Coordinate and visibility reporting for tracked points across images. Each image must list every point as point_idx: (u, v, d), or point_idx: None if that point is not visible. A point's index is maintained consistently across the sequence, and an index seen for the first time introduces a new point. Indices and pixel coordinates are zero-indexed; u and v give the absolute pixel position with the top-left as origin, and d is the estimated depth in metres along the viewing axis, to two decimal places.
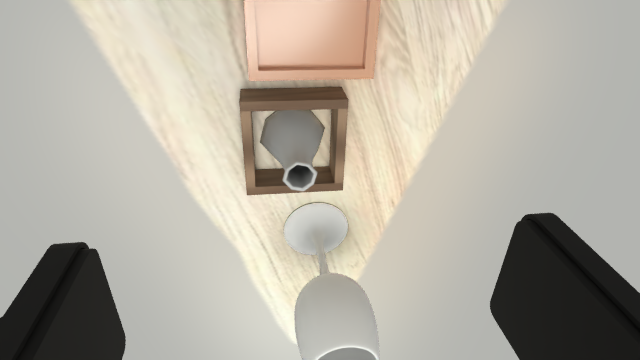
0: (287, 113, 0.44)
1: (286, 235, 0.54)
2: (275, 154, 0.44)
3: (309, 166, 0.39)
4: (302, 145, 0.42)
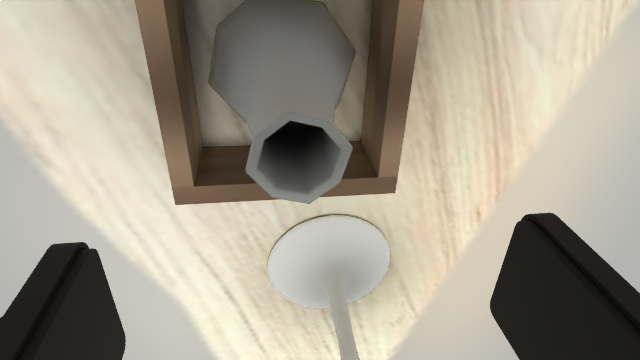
0: (267, 3, 0.18)
1: (271, 276, 0.28)
2: (236, 104, 0.17)
3: (329, 126, 0.12)
4: (307, 75, 0.15)
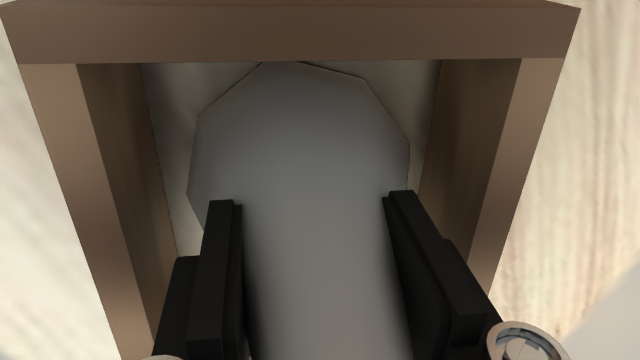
0: (279, 90, 0.11)
1: None
2: None
3: None
4: (356, 247, 0.08)
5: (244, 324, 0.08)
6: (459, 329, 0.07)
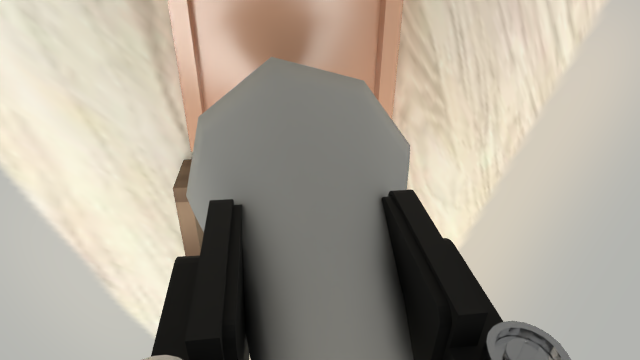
0: (279, 92, 0.11)
1: None
2: None
3: None
4: (356, 250, 0.08)
5: (244, 324, 0.08)
6: (459, 329, 0.07)
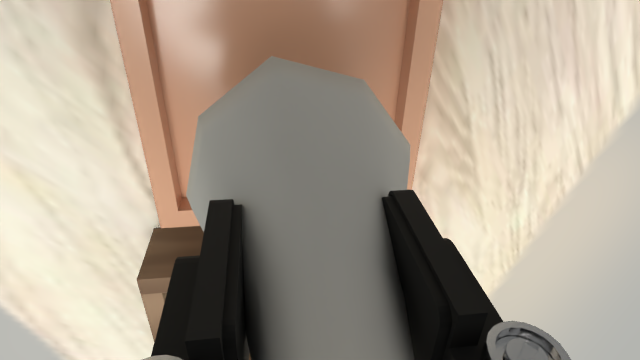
0: (278, 91, 0.11)
1: None
2: None
3: None
4: (357, 249, 0.08)
5: (244, 324, 0.08)
6: (459, 329, 0.07)
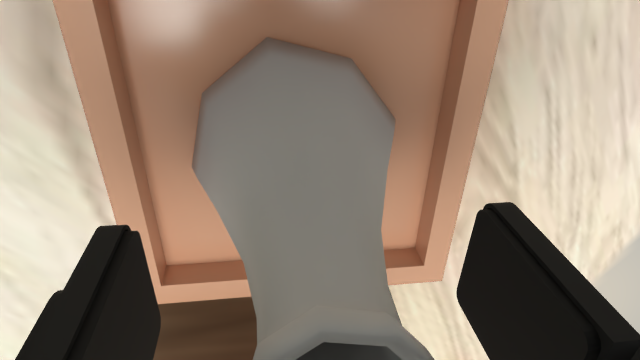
0: (273, 66, 0.12)
1: None
2: (228, 222, 0.11)
3: (398, 345, 0.06)
4: (340, 194, 0.09)
5: None
6: (609, 356, 0.06)
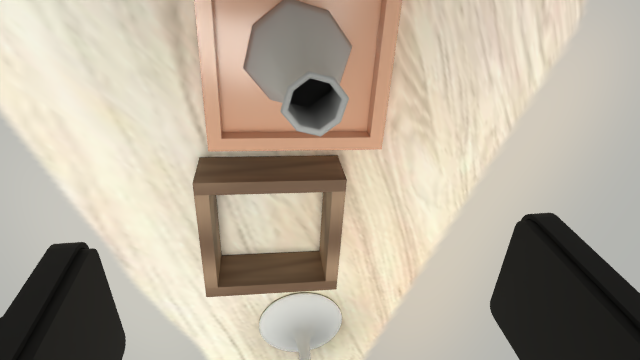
0: (290, 9, 0.25)
1: (262, 331, 0.42)
2: (268, 78, 0.24)
3: (334, 82, 0.19)
4: (318, 56, 0.23)
5: None
6: None
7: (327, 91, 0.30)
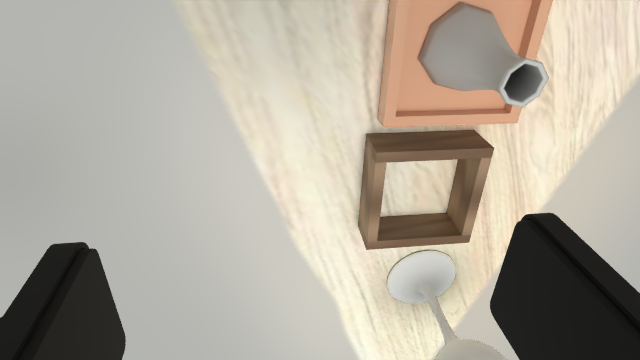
0: (469, 11, 0.32)
1: (389, 284, 0.50)
2: (458, 65, 0.31)
3: (541, 66, 0.27)
4: (508, 47, 0.30)
5: None
6: None
7: None
